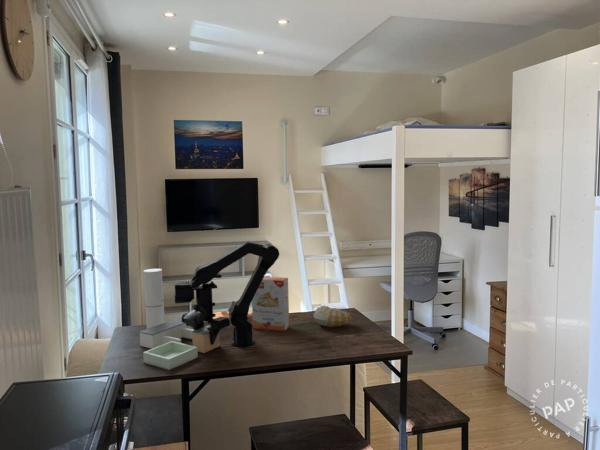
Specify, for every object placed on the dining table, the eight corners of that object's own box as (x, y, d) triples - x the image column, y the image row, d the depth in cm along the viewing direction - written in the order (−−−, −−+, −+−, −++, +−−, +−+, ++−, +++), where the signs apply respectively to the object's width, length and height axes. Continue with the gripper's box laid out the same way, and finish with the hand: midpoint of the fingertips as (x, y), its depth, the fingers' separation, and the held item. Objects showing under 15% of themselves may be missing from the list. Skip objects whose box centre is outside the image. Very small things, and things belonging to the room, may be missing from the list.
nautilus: (306, 319, 203) (339, 318, 206) (319, 332, 182) (355, 330, 185) (306, 301, 203) (339, 300, 206) (319, 311, 182) (355, 310, 185)
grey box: (219, 346, 171) (219, 327, 170) (204, 353, 164) (203, 333, 163) (208, 343, 174) (207, 325, 173) (192, 350, 167) (192, 331, 166)
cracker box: (252, 329, 189) (250, 278, 187) (257, 324, 195) (256, 275, 193) (284, 331, 185) (283, 280, 183) (289, 327, 191) (288, 277, 189)
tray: (197, 357, 161) (197, 347, 160) (169, 370, 150) (168, 359, 150) (172, 350, 167) (171, 340, 167) (143, 362, 157) (143, 352, 157)
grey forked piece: (140, 345, 173) (139, 331, 173) (180, 330, 190) (180, 317, 190) (169, 353, 165) (169, 338, 164) (209, 336, 182) (209, 323, 181)
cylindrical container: (167, 327, 194) (164, 268, 192) (160, 333, 187) (157, 272, 184) (151, 327, 195) (147, 268, 192) (143, 333, 188) (140, 272, 185)
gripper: (169, 303, 165) (171, 345, 167) (207, 309, 155) (209, 355, 157) (192, 296, 175) (193, 336, 176) (229, 302, 165) (231, 344, 166)
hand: (206, 343), depth 169 cm, fingers closed on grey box, 5 cm apart
